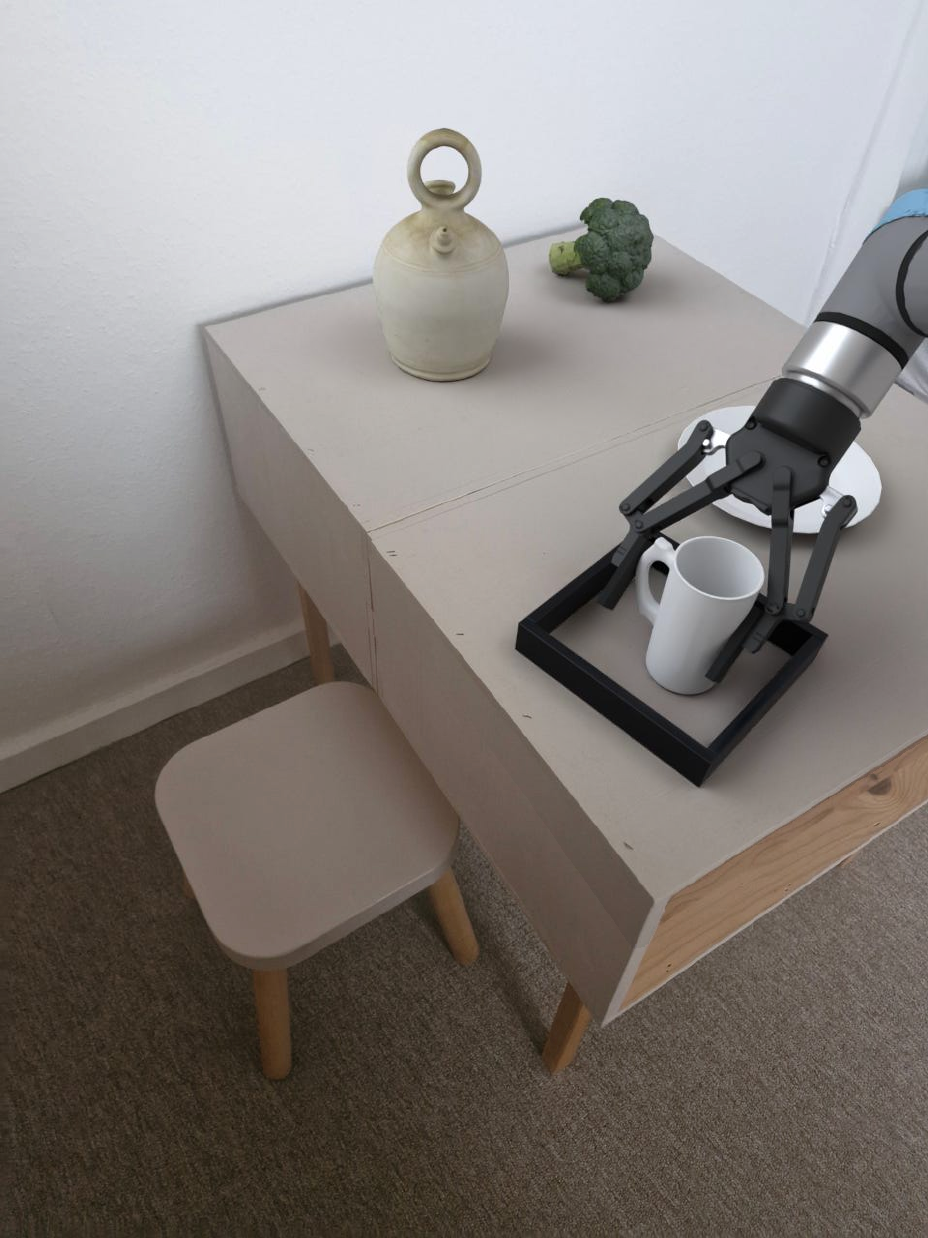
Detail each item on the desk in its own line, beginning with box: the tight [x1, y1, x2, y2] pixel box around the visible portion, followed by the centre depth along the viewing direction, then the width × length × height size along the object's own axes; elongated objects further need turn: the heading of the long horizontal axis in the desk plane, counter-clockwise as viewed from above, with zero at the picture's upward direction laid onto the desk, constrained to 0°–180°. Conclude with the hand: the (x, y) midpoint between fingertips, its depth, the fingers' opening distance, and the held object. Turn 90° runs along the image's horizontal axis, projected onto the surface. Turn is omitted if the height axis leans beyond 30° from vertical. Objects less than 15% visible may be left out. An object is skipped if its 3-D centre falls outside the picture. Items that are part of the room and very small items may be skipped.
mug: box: [634, 535, 766, 695], centre depth 68 cm, size 10×7×12 cm, turn 41°
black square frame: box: [514, 531, 829, 788], centre depth 72 cm, size 19×18×4 cm
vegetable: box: [548, 197, 655, 302], centre depth 113 cm, size 12×13×15 cm
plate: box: [677, 405, 883, 535], centre depth 89 cm, size 21×21×2 cm
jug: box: [372, 127, 510, 382], centre depth 94 cm, size 15×16×25 cm
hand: (656, 641), depth 68 cm, fingers closed on mug, 10 cm apart
